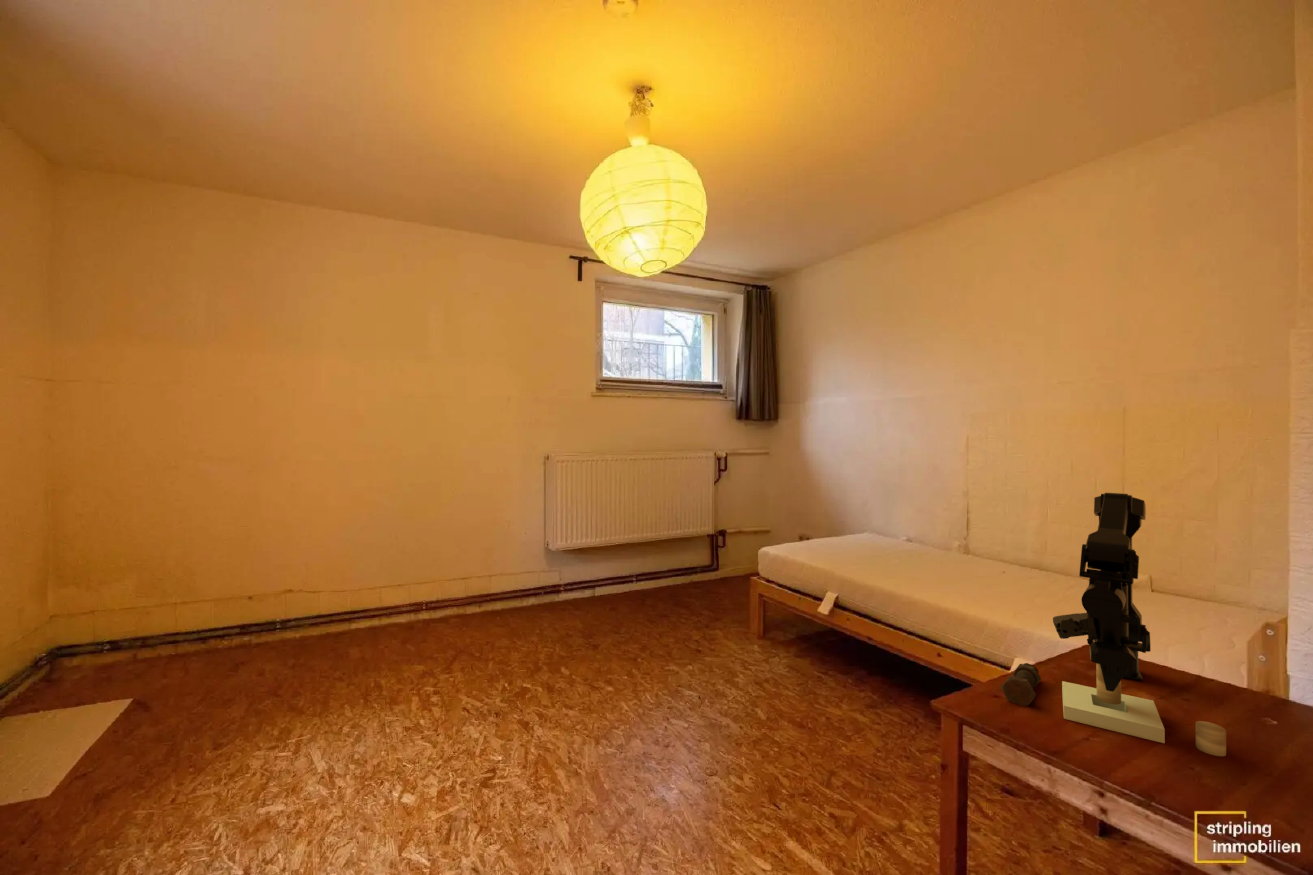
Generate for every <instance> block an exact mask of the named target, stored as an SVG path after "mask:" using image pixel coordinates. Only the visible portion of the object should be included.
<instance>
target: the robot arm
mask: <svg viewBox="0 0 1313 875" xmlns="http://www.w3.org/2000/svg"><path fill="white" fill-rule="evenodd" d="M1093 500H1094V501H1093V504H1094V505H1093V514H1094V515H1095V517H1098V526H1097V530H1095V531H1094V532H1091V533H1089V534H1088V536H1087V539H1086V543H1085V544H1084V543H1082V545H1081V554H1080V563H1079V564H1080V565H1079V575H1078V576H1079V577H1080V578H1088V586H1087V587H1086V589H1085V591H1084V592H1083V594H1082V596H1081V604H1082V607H1083V609H1084V610H1085V611H1086V612H1079V613H1069V614H1061V615H1056V616H1053V617H1052V622H1053V626H1054V627H1055V630H1056V632H1057V634H1058V637H1059V638H1060V639H1061V640H1064V639H1065V640H1066V639H1069V638H1074V637H1082V636H1083V637H1084V636H1087V639H1086V641H1087V642H1086V643H1087V645H1089V657H1090V661H1091V662H1092V663H1094V664H1096V663H1097V664H1100V667H1101V671H1102V675H1103V679H1104V683H1105V687H1106V690H1107V691H1112V692H1113V691H1114V690H1115V689H1116V687H1117V686H1118V684H1119V683H1120V681H1121V682H1122V680H1123V678H1126V679H1131V680H1136V681H1143V680H1144V678H1143V676H1142V673H1141V671H1140V669H1139V653H1140V652H1141V653H1142V654H1147V653H1148V652H1151V650H1152V648H1151V632H1150V631H1149V630H1148V629H1147V626H1146V625H1147V624H1143V619H1142V618H1143V617H1142V614H1141V611H1139V609H1138V607H1136V605H1135V604H1134V603H1133V584H1134V580H1138V579H1139V564H1140V557H1139V555H1138V554H1137V551H1135V549H1133V537H1134V536H1135V534H1137V532H1138V531H1139V529H1140V528H1141V527H1142V522H1143V521H1146V514H1147V513H1146V512H1147V511H1146V510H1147V508H1146V503H1145V500H1143V499H1140V498H1137V497H1133V495H1132V494H1128V493H1119V492H1118V493H1117V492H1114V493H1113V492H1104V493H1101V494H1100V495H1099V496H1095V497H1094V498H1093ZM1142 520H1143V521H1142ZM1086 567H1087V568H1086Z"/></svg>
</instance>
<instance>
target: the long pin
mask: <svg viewBox="0 0 1313 875" xmlns="http://www.w3.org/2000/svg"><path fill="white" fill-rule="evenodd" d="M1095 666H1096V667H1095V668H1096V669H1095V670H1096V671H1095V672H1096V681H1095V682H1096V688H1097V698H1098V699H1099V700H1101V701H1103V702H1106V703H1110V704H1121V694H1122V680H1121V681H1120V683H1119V684H1118V686H1117V687H1116V689H1115V690H1114V691H1113V692H1112V691H1107V690H1106V687H1105V683H1104V679H1103V675H1102V671H1101V667H1100V664H1097V663H1095Z"/></svg>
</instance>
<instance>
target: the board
mask: <svg viewBox="0 0 1313 875" xmlns="http://www.w3.org/2000/svg"><path fill="white" fill-rule="evenodd" d="M1061 689H1062V690H1061V695H1062V708H1063V709H1062V711H1063V719H1064V720H1068V721H1073V722H1075V723H1081V724H1085V725H1088V726H1092V727H1097V728H1099V729H1100V728H1101V729H1103V730H1104V729H1105V730H1109V731H1113V732H1117V733H1120V734H1125V735H1128V736H1133V737H1137V738H1141V739H1146V740H1148V741H1154V742H1158V743H1162V744H1165V743H1166V742H1165V741H1166V740H1165V739H1166V738H1165V737H1166V736H1165V735H1166V734H1165V733H1166V732H1165V731H1166V729H1165V727H1164V724H1163V722H1162V719H1161V716H1160V714H1159V712H1158V708H1157V707H1156V703H1155V701H1154V700H1152V699H1147V698H1143V697H1138V696H1134V695H1128V694H1123V693H1121V704H1110V703H1106V702H1103V701H1101V700H1099V699H1098V698H1097V687H1091V686H1087V685H1082V684H1078V683H1073V682H1068V681H1063V680H1062V681H1061Z"/></svg>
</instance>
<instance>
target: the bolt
mask: <svg viewBox="0 0 1313 875" xmlns="http://www.w3.org/2000/svg"><path fill="white" fill-rule="evenodd" d="M1041 680H1042V678H1041V676H1040V673H1039V669H1038V668H1037V667H1036V666H1035V665H1034V664H1030V663H1029V662H1025V663H1019V664H1018V665H1017V667H1016V668H1015V669H1014V671H1012V674H1011V675H1009V676H1008V677H1007V679H1006V680H1005V681H1004V682H1003V683H1002V685H1001V687H1000V688H1001V690H1002V692H1003V694H1004V696H1005V698H1006V700H1008V701H1009V702H1010V703H1013V704H1016V705H1018V706H1024V707H1028V706H1029V705H1030V704H1031V703H1032V702H1033V700H1034V699H1035V698H1036V696H1037V694H1036V692H1035V690H1034V689H1035V688H1036V687H1037V686H1038V684H1039V683H1040V682H1041Z"/></svg>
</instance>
